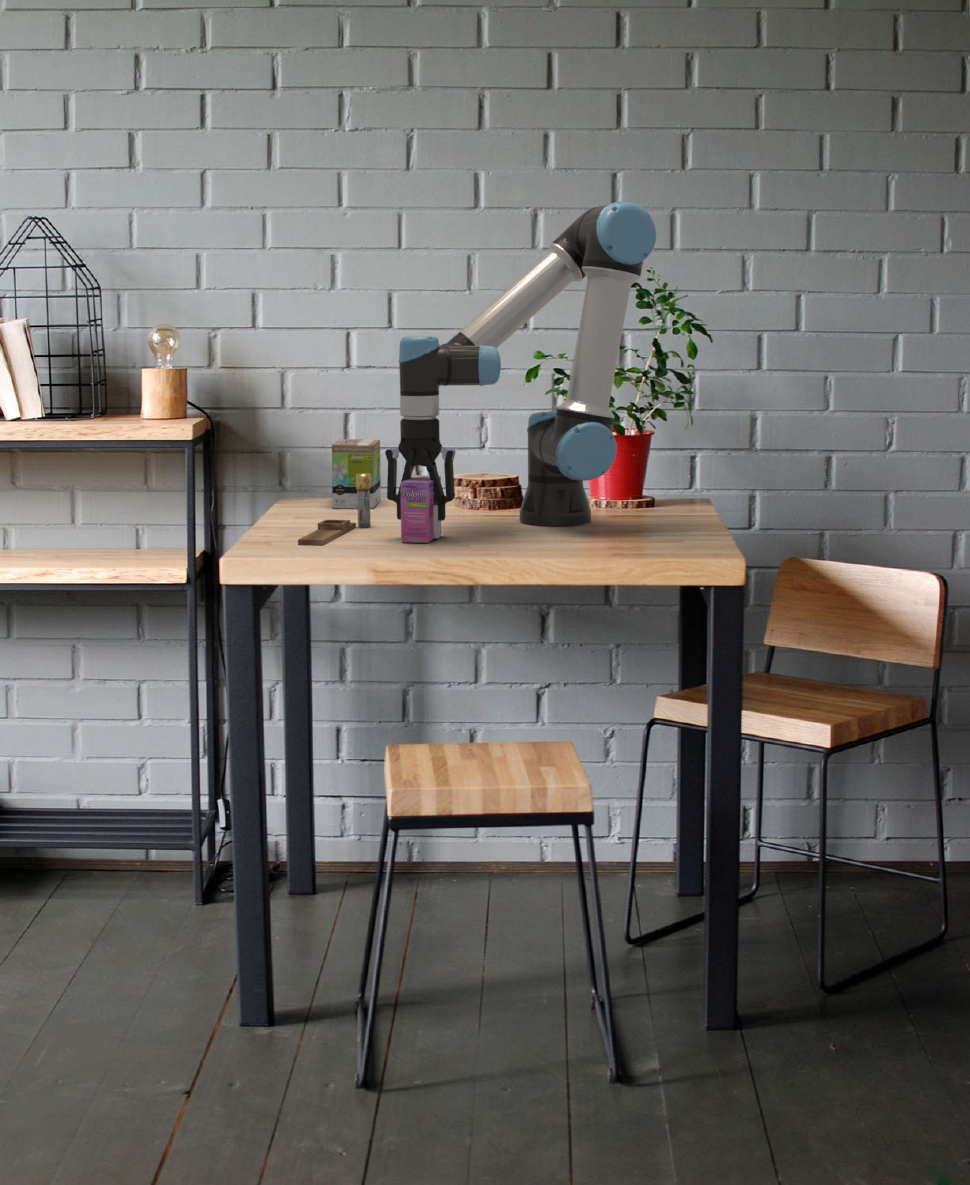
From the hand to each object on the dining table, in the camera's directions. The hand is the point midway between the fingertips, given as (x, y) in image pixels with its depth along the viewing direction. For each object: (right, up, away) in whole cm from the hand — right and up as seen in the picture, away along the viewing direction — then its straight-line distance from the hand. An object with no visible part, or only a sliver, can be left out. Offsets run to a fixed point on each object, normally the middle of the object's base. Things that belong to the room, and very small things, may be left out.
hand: (421, 536), depth 259 cm
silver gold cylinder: (-13, +3, +16) cm, 20 cm away
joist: (-19, 0, +5) cm, 19 cm away
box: (0, -1, 0) cm, 1 cm away
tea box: (-17, +9, +48) cm, 52 cm away
